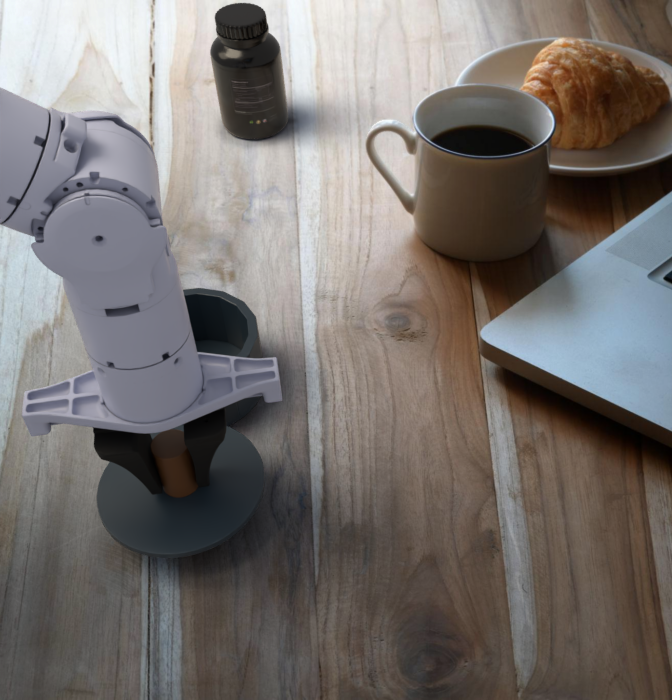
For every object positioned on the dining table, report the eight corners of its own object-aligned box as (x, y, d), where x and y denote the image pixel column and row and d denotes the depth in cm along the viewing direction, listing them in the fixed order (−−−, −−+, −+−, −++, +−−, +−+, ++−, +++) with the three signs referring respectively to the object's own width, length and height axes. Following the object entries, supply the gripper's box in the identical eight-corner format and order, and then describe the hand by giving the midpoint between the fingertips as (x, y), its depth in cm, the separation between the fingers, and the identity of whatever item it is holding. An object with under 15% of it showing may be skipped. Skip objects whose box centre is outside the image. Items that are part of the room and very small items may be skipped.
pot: (131, 444, 67) (114, 395, 64) (133, 346, 74) (117, 297, 70) (271, 423, 69) (262, 374, 65) (260, 330, 76) (252, 280, 72)
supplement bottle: (218, 110, 98) (199, 0, 89) (282, 101, 100) (270, -7, 91) (227, 146, 94) (208, 34, 85) (294, 136, 95) (283, 26, 87)
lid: (97, 577, 58) (75, 530, 54) (103, 442, 65) (84, 392, 61) (272, 547, 60) (263, 499, 56) (259, 419, 67) (250, 369, 63)
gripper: (264, 269, 55) (285, 415, 65) (6, 299, 53) (68, 447, 63) (275, 353, 51) (296, 498, 60) (-8, 391, 48) (62, 535, 58)
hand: (180, 478), depth 61 cm, fingers closed on lid, 2 cm apart
